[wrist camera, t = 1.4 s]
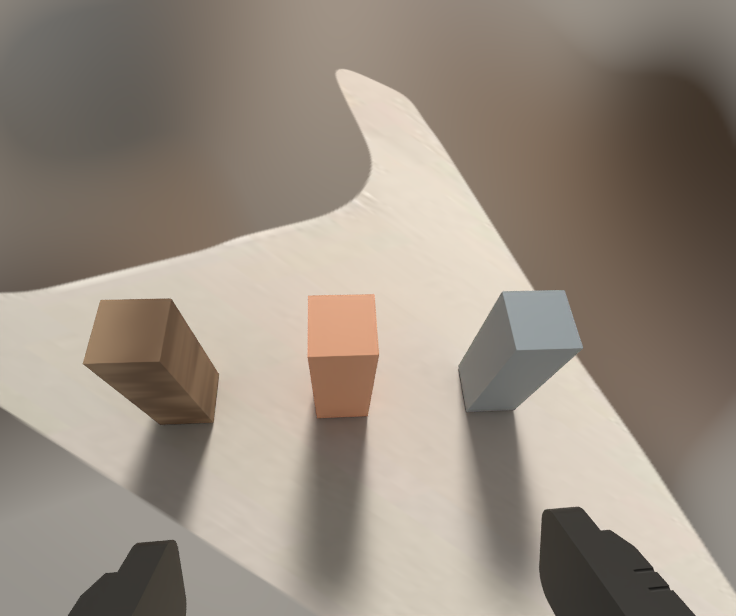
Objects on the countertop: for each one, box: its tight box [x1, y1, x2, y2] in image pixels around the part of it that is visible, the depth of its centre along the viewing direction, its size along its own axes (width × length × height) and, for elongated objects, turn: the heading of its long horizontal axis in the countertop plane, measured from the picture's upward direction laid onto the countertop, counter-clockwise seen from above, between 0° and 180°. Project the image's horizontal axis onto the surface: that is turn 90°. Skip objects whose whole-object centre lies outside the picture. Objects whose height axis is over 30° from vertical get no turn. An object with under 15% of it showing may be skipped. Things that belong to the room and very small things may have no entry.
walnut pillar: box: [83, 299, 219, 425], centre depth 30 cm, size 4×4×12 cm
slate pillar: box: [459, 290, 583, 412], centre depth 32 cm, size 4×4×12 cm
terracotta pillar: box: [308, 294, 379, 418], centre depth 31 cm, size 4×4×12 cm
